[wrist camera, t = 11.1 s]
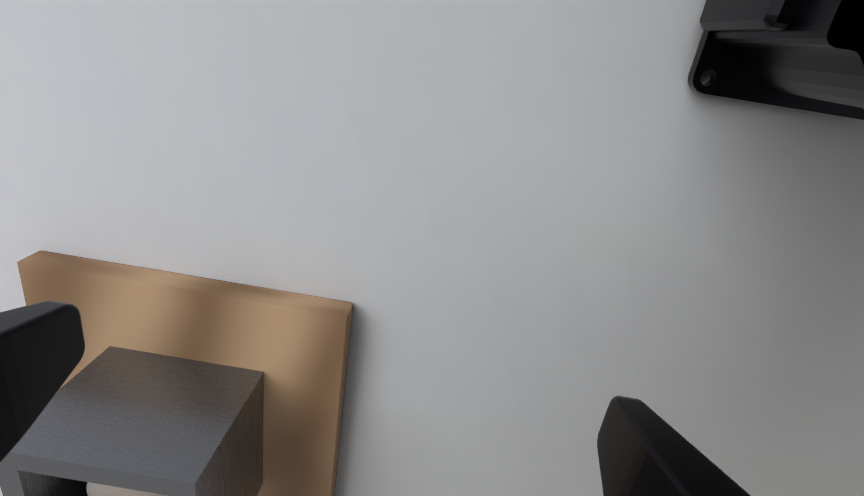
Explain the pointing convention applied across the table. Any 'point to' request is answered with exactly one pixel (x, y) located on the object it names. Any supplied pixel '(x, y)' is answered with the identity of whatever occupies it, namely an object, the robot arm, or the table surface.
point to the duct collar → (145, 430)
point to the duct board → (220, 350)
